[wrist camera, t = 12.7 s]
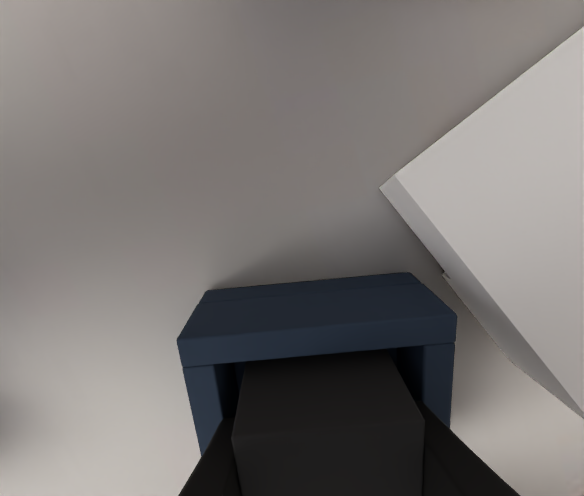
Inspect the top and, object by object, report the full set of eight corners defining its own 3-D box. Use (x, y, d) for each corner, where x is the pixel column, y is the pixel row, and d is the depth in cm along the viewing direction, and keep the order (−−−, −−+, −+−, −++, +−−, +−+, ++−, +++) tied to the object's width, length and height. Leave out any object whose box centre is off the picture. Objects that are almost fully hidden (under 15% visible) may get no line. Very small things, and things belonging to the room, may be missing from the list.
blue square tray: (238, 473, 13) (224, 566, 10) (205, 289, 10) (175, 339, 8) (406, 457, 13) (443, 546, 10) (410, 270, 10) (458, 314, 8)
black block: (262, 456, 10) (254, 571, 7) (246, 351, 9) (229, 438, 6) (383, 445, 10) (421, 556, 7) (382, 338, 9) (426, 420, 6)
